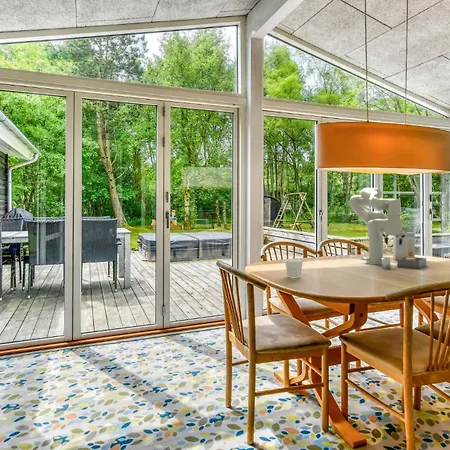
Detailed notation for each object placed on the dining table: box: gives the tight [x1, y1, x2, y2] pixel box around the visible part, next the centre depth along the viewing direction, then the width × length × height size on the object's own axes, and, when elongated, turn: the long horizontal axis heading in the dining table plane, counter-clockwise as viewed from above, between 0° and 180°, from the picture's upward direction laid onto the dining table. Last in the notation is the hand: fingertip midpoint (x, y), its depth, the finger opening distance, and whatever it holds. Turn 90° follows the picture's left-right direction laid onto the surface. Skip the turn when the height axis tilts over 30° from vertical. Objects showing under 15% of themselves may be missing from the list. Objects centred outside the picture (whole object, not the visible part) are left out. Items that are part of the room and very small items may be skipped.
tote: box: [396, 256, 427, 270], centre depth 256 cm, size 18×14×5 cm
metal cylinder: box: [381, 257, 391, 270], centre depth 247 cm, size 5×5×7 cm
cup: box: [284, 258, 303, 277], centre depth 221 cm, size 10×10×10 cm
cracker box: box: [392, 231, 416, 261], centre depth 285 cm, size 14×6×21 cm, turn 84°
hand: (393, 244), depth 248 cm, fingers open, 7 cm apart
